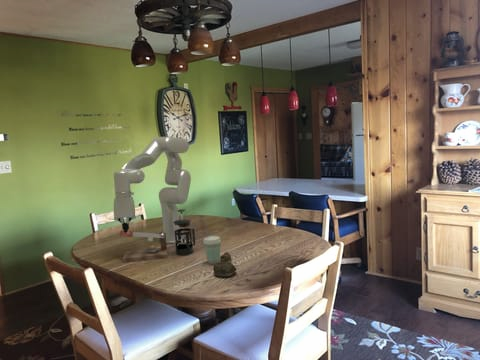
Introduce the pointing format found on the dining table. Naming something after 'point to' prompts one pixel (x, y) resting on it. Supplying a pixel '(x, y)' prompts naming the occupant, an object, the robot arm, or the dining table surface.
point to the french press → (184, 244)
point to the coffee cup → (212, 249)
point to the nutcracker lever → (142, 235)
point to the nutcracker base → (148, 253)
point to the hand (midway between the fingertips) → (125, 230)
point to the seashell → (224, 266)
